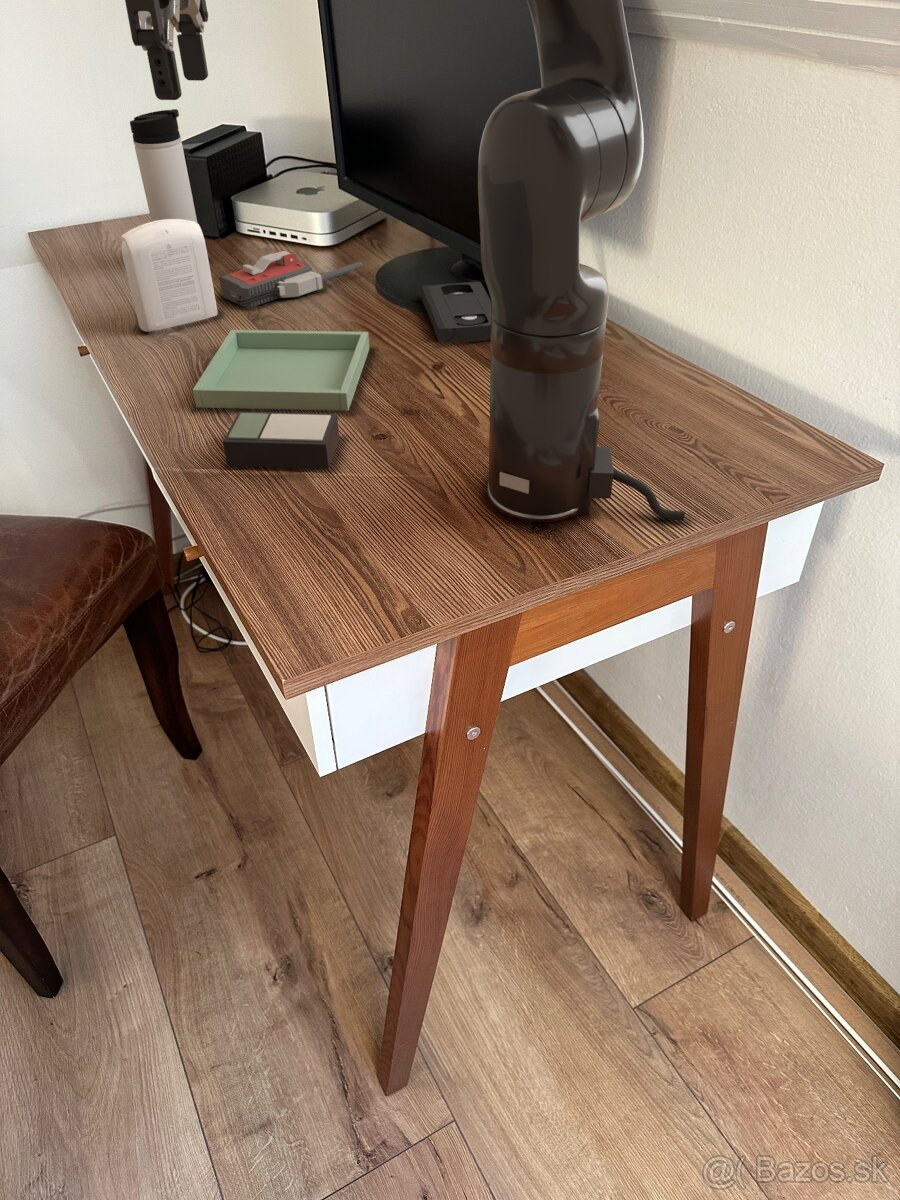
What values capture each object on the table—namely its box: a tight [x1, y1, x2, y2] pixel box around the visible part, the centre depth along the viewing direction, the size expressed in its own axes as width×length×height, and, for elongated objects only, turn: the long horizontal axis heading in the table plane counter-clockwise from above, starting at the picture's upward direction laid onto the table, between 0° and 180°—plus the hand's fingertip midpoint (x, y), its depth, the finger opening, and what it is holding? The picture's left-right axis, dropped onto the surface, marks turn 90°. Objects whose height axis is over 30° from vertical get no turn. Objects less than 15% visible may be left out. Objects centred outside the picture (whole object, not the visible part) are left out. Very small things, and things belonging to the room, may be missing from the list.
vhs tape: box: [421, 281, 491, 343], centre depth 112 cm, size 14×8×2 cm, turn 10°
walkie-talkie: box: [218, 250, 364, 307], centre depth 121 cm, size 9×4×20 cm
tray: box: [192, 329, 370, 411], centre depth 100 cm, size 17×16×2 cm
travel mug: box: [129, 108, 199, 224], centre depth 124 cm, size 6×7×20 cm
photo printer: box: [120, 219, 219, 333], centre depth 110 cm, size 10×4×12 cm, turn 123°
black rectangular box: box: [222, 411, 340, 469], centre depth 87 cm, size 10×6×3 cm, turn 85°
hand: (183, 89), depth 83 cm, fingers open, 8 cm apart
